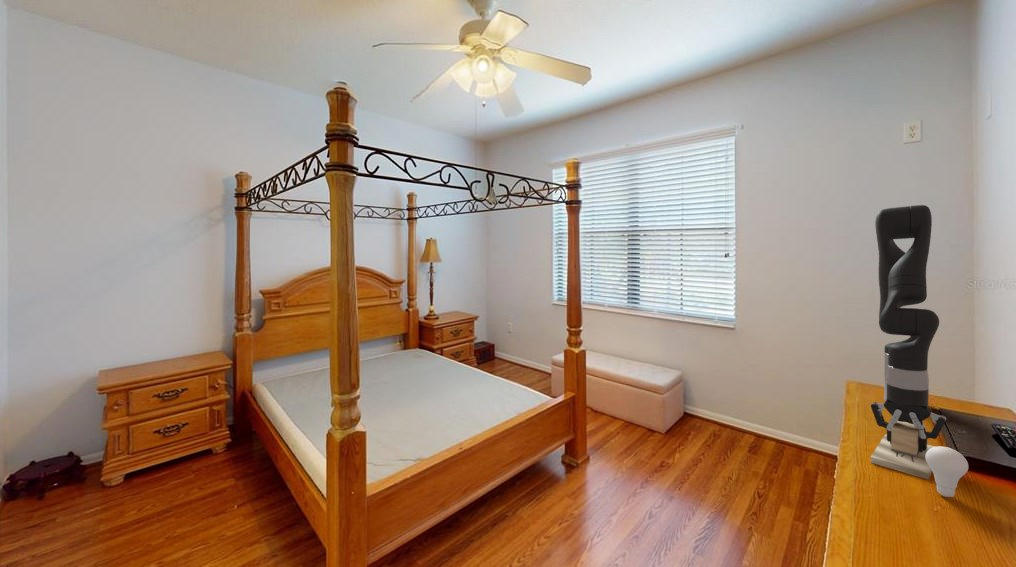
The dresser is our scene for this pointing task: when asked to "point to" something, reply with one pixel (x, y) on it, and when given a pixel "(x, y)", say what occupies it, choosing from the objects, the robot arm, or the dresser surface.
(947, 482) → the lightbulb
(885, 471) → the dresser surface
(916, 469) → the board
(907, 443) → the block
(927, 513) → the dresser surface
